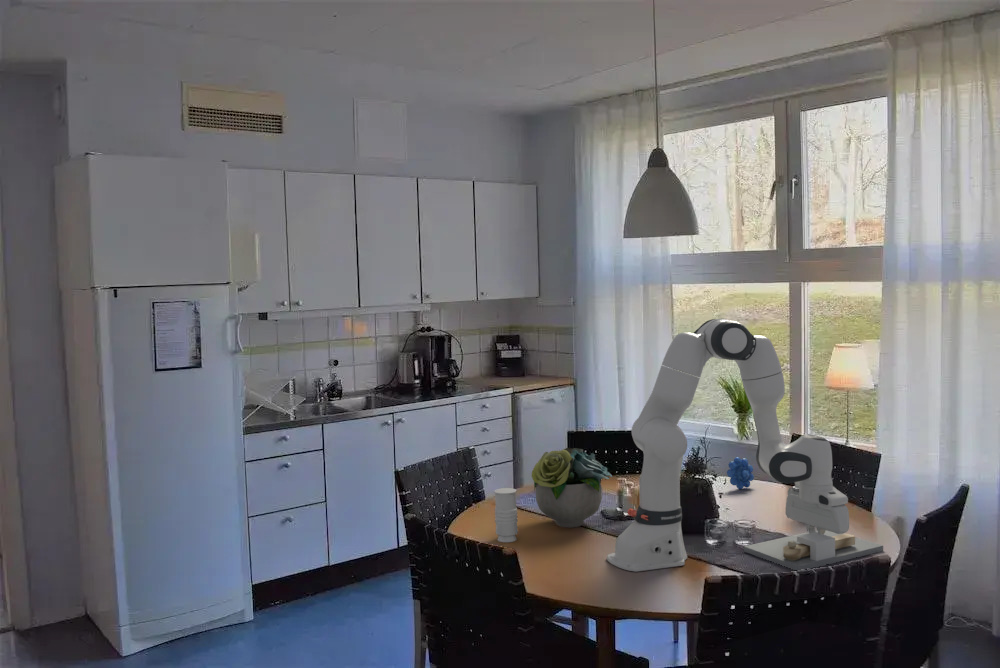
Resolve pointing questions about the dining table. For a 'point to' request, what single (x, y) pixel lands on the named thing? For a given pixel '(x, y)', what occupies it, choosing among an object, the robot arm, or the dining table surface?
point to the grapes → (740, 473)
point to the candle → (506, 514)
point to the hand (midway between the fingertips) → (816, 541)
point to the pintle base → (805, 561)
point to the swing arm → (804, 549)
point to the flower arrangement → (568, 485)
